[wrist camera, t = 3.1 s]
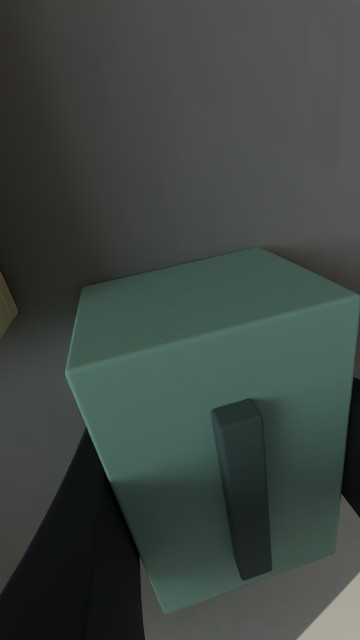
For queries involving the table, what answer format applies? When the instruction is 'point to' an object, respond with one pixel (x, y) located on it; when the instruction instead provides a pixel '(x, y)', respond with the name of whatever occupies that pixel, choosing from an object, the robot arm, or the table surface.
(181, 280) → the green pad
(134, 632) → the robot arm
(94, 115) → the table surface
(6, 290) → the frame tray
